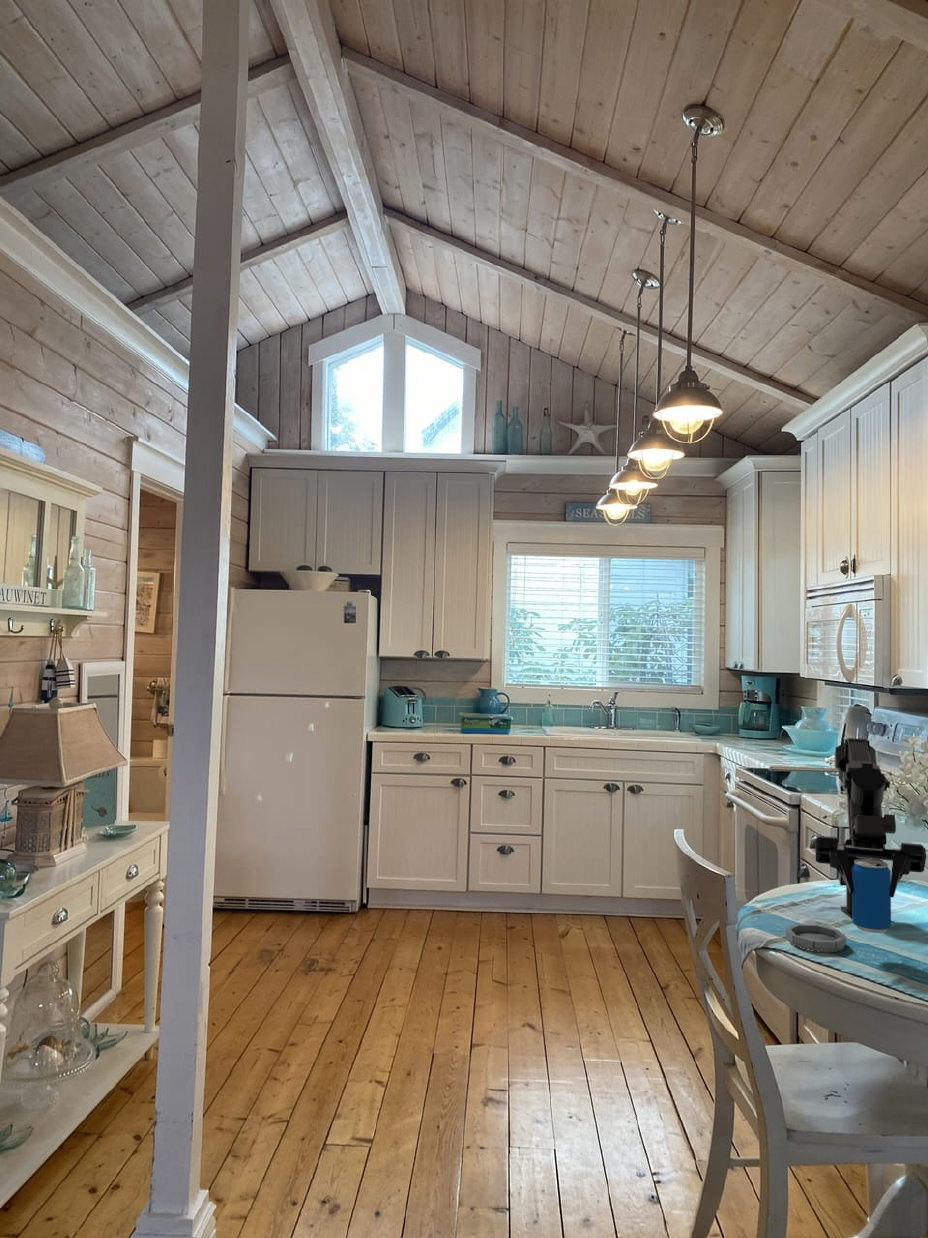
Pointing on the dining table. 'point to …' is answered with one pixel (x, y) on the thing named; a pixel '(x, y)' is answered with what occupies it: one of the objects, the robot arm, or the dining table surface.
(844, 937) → the tray
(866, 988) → the dining table surface
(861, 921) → the beverage can
